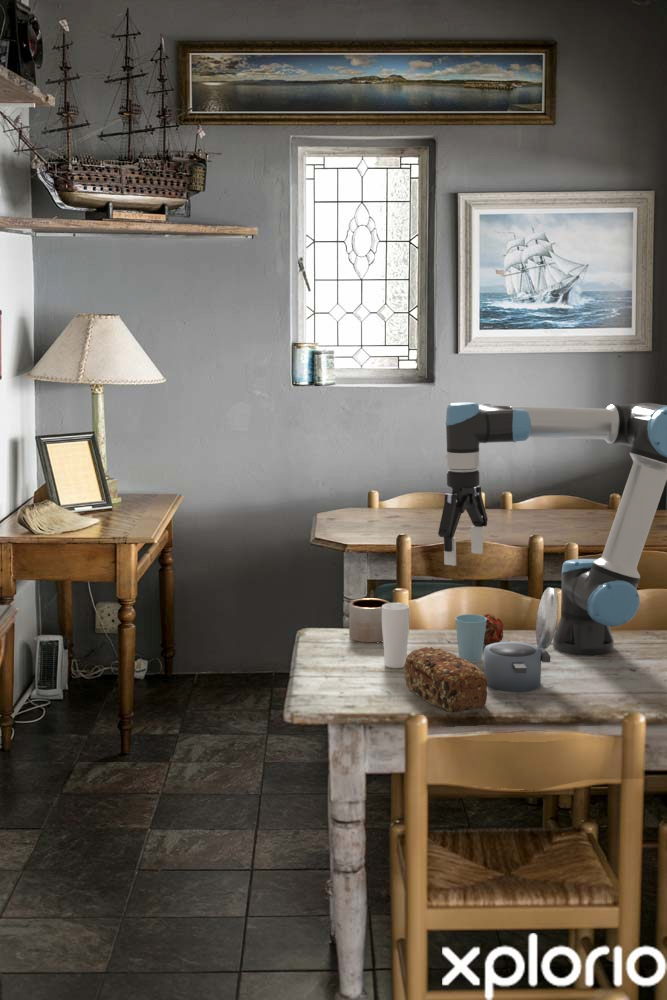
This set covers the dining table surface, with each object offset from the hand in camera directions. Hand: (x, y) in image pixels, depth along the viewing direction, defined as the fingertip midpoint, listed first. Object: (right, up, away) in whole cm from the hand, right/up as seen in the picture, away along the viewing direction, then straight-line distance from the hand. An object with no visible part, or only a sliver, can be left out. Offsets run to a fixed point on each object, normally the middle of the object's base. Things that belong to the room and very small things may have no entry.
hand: (463, 559), depth 263 cm
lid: (+18, -13, -6) cm, 23 cm away
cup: (+3, -26, +15) cm, 30 cm away
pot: (+11, -29, -4) cm, 31 cm away
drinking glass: (-16, -27, +9) cm, 32 cm away
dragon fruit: (+9, -24, +28) cm, 37 cm away
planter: (-21, -23, +33) cm, 45 cm away
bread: (-6, -31, -14) cm, 34 cm away
